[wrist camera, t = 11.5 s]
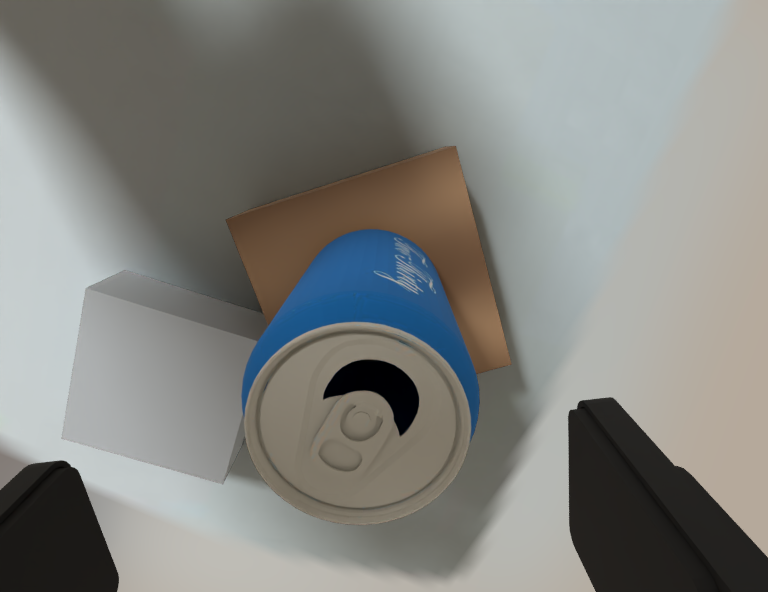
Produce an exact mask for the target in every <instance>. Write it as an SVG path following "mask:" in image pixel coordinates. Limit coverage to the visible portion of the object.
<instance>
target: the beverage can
mask: <svg viewBox="0 0 768 592" xmlns="http://www.w3.org/2000/svg"><path fill="white" fill-rule="evenodd" d="M241 398H242V411H243V416H244V430H245V438H246V443H247V448H248V450H249V453H250V456H251V459H252V461H253V463H254V465H255V467H256V469H257V471H258V472H259V474H260V475H261V476H262V478H263V479H264V481H265V482H266V483H267V484H268V485H269V486H270V488H271V489H272V490H273V491H274V492H275V493H276V494H278V495H279V496H280V497H281V498H282V499H283V500H285V501H286V502H288V503H289V504H291V505H292V506H294V507H295V508H297V509H299V510H301V511H303V512H305V513H307V514H309V515H312V516H314V517H317V518H319V519H323V520H327V521H331V522H335V523H341V524H350V525H368V524H378V523H383V522H389V521H392V520H396V519H399V518H402V517H405V516H407V515H409V514H412V513H414V512H416V511H418V510H419V509H421V508H423V507H425V506H426V505H428V504H429V503H430V502H432V501H433V500H434V499H436V498H437V497H438V496H439V495H440V494H441V493H442V492H443V491H444V490H445V489H446V488H447V487H448V486H449V485H450V483H451V482H452V481H453V480H454V478H455V477H456V475H457V474H458V472H459V470H460V468H461V467H462V464H463V462H464V460H465V457H466V455H467V451H468V447H469V443H470V441H471V439H472V436H473V434H474V431H475V427H476V423H477V420H478V412H479V403H480V400H479V385H478V380H477V375H476V372H475V369H474V366H473V363H472V360H471V358H470V355H469V352H468V350H467V347H466V345H465V342H464V340H463V337H462V335H461V332H460V329H459V327H458V324H457V322H456V319H455V317H454V314H453V312H452V309H451V306H450V304H449V301H448V299H447V296H446V294H445V291H444V289H443V286H442V283H441V281H440V278H439V276H438V273H437V271H436V269H435V267H434V265H433V263H432V261H431V260H430V259H429V257H428V256H427V255H426V253H425V252H424V251H423V250H422V249H421V248H420V247H419V246H417V245H416V244H415V243H414V242H412V241H410V240H409V239H407V238H406V237H403V236H401V235H399V234H396V233H393V232H390V231H385V230H379V229H366V230H358V231H354V232H350V233H347V234H345V235H342V236H340V237H338V238H336V239H335V240H333V241H332V242H330V243H329V244H328V245H326V246H325V247H324V248H323V249H322V250H321V251H320V252H319V253H318V255H317V256H316V257H315V258H314V260H313V261H312V263H311V264H310V266H309V267H308V269H307V270H306V272H305V273H304V274H303V276H302V277H301V279H300V280H299V282H298V283H297V285H296V286H295V288H294V289H293V291H292V292H291V294H290V295H289V296H288V298H287V299H286V301H285V302H284V304H283V305H282V307H281V308H280V310H279V311H278V313H277V314H276V316H275V317H274V318H273V320H272V321H271V323H270V324H269V326H268V327H267V329H266V330H265V332H264V333H263V335H262V336H261V337H260V339H259V341H258V342H257V344H256V346H255V347H254V349H253V351H252V353H251V355H250V357H249V360H248V362H247V365H246V369H245V373H244V377H243V383H242V394H241Z"/></svg>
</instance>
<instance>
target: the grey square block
mask: <svg viewBox="0 0 768 592" xmlns="http://www.w3.org/2000/svg"><path fill="white" fill-rule="evenodd" d="M267 327H268V324H267V321H266V319H265V316H264V314H263V313H260V312H257V311H253V310H250V309H247V308H244V307H241V306H237V305H234V304H231V303H228V302H225V301H222V300H218V299H215V298H212V297H209V296H206V295H203V294H199V293H196V292H193V291H190V290H187V289H184V288H180V287H177V286H174V285H171V284H168V283H164V282H161V281H158V280H155V279H152V278H149V277H145V276H142V275H139V274H136V273H133V272H130V271H126V270H124V271H122V272H120V273H117V274H115V275H113V276H111V277H109V278H107V279H104V280H102V281H100V282H98V283H96V284H94V285H91V286H89V287H87V288H86V290H85V296H84V302H83V308H82V314H81V321H80V327H79V333H78V339H77V345H76V352H75V358H74V364H73V370H72V376H71V383H70V389H69V395H68V401H67V407H66V414H65V420H64V426H63V432H62V438H61V439H64V440H68V441H71V442H75V443H79V444H82V445H86V446H89V447H93V448H96V449H100V450H103V451H107V452H111V453H114V454H118V455H121V456H125V457H128V458H132V459H135V460H139V461H142V462H146V463H150V464H153V465H157V466H160V467H164V468H167V469H171V470H174V471H178V472H181V473H185V474H189V475H192V476H196V477H199V478H203V479H206V480H210V481H213V482H217V483H220V484H223V483H224V481H225V479H226V477H227V475H228V473H229V471H230V469H231V467H232V465H233V463H234V461H235V459H236V457H237V455H238V453H239V451H240V449H241V447H242V444H243V440H244V437H245V430H244V416H243V411H242V398H241V394H242V383H243V377H244V373H245V369H246V365H247V362H248V360H249V357H250V355H251V353H252V351H253V349H254V347H255V346H256V344H257V342H258V341H259V339H260V337H261V336H262V335H263V333H264V332H265V330H266V329H267Z"/></svg>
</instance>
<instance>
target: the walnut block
mask: <svg viewBox="0 0 768 592" xmlns="http://www.w3.org/2000/svg"><path fill="white" fill-rule="evenodd" d="M226 222H227V224H228V227H229V229H230V232H231V234H232V237H233V239H234V242H235V244H236V247H237V249H238V252H239V254H240V257H241V259H242V262H243V264H244V267H245V269H246V272H247V274H248V277H249V279H250V282H251V284H252V287H253V289H254V291H255V294H256V296H257V299H258V301H259V304H260V306H261V309H262V311H263V314H264V316H265V319H266V321H267V324H268V326H269V324H270V323H271V321H272V320H273V318H274V317H275V316H276V314H277V313H278V311H279V310H280V308H281V307H282V305H283V304H284V302H285V301H286V299H287V298H288V296H289V295H290V294H291V292H292V291H293V289H294V288H295V286H296V285H297V283H298V282H299V280H300V279H301V277H302V276H303V274H304V273H305V272H306V270H307V269H308V267H309V266H310V264H311V263H312V261H313V260H314V258H315V257H316V256H317V255H318V253H319V252H320V251H321V250H322V249H323V248H324V247H325V246H326V245H328V244H329V243H330V242H332V241H333V240H335V239H336V238H338V237H340V236H342V235H345V234H347V233H350V232H354V231H358V230H366V229H379V230H385V231H390V232H393V233H396V234H399V235H401V236H403V237H406V238H407V239H409V240H410V241H412V242H414V243H415V244H416V245H417V246H419V247H420V248H421V249H422V250H423V251H424V252H425V253H426V255H427V256H428V257H429V259H430V260H431V261H432V263H433V265H434V267H435V269H436V271H437V273H438V276H439V278H440V281H441V283H442V286H443V289H444V291H445V294H446V296H447V299H448V301H449V304H450V306H451V309H452V312H453V314H454V317H455V319H456V322H457V324H458V327H459V329H460V332H461V335H462V337H463V340H464V342H465V345H466V347H467V350H468V352H469V355H470V358H471V360H472V363H473V366H474V369H475V372H476V374H478V373H482V372H486V371H489V370H493V369H497V368H500V367H504V366H508V365H511V360H510V356H509V352H508V349H507V345H506V341H505V337H504V333H503V329H502V325H501V321H500V317H499V313H498V309H497V306H496V302H495V298H494V294H493V290H492V286H491V282H490V278H489V274H488V270H487V266H486V262H485V259H484V255H483V251H482V247H481V243H480V239H479V235H478V231H477V227H476V223H475V219H474V216H473V212H472V208H471V204H470V200H469V196H468V192H467V188H466V184H465V180H464V176H463V173H462V169H461V165H460V161H459V157H458V153H457V149H456V146H449V147H443V148H440V149H437V150H434V151H431V152H427V153H424V154H421V155H418V156H415V157H412V158H409V159H406V160H402V161H399V162H396V163H393V164H390V165H387V166H384V167H381V168H377V169H374V170H371V171H368V172H365V173H362V174H359V175H356V176H353V177H349V178H346V179H343V180H340V181H337V182H334V183H331V184H328V185H324V186H321V187H318V188H315V189H312V190H309V191H306V192H303V193H299V194H296V195H293V196H290V197H287V198H284V199H281V200H278V201H275V202H271V203H268V204H265V205H262V206H259V207H256V208H253V209H250V210H247V211H245V212H243V213H240V214H238V215H236V216H233V217H231V218H229V219H226Z"/></svg>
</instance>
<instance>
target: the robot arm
mask: <svg viewBox="0 0 768 592" xmlns="http://www.w3.org/2000/svg"><path fill="white" fill-rule="evenodd" d="M568 422H569V423H568V430H569V526H570V533H571V537H572V541H573V544H574V547H575V549H576V551H577V553H578V555H579V557H580V559H581V561H582V563H583V566H584V568H585V570H586V572H587V574H588V576H589V578H590V580H591V583H592V585H593V587H594V589H595V591H596V592H768V557H767V556H766V555H765V554H764V553H763V552H762V551H761V550H760V549H759V548H758V547H757V545H756V544H755V543H754V542H753V541H752V540H751V539H750V538H749V537H748V536H747V535H746V534H745V533H744V532H743V530H742V529H741V528H740V527H739V526H738V525H737V524H736V523H735V522H734V521H733V520H732V518H731V517H730V516H729V515H728V514H727V513H726V512H725V511H724V510H723V509H722V508H721V507H720V505H719V504H718V503H717V502H716V501H715V500H714V499H713V498H712V497H711V496H710V495H709V494H708V492H707V491H706V490H705V489H704V488H703V487H702V486H701V485H700V484H699V483H698V482H697V481H696V479H695V478H694V477H693V476H692V475H691V474H690V473H688V472H687V471H686V470H685V469H684V468H681V467H678V466H674V465H673V463H672V462H670V460H669V459H668V458H667V457H666V456H665V455H664V453H663V452H662V451H661V450H660V449H659V448H658V447H657V446H656V445H655V443H654V442H653V441H652V440H651V439H650V438H649V437H648V436H647V435H646V433H645V432H644V431H643V430H642V429H641V428H640V427H639V426H638V425H637V423H636V422H635V421H634V420H633V419H632V418H631V417H630V416H629V415H628V414H627V412H626V411H625V410H624V409H623V408H622V407H621V406H620V405H619V403H617V401H616V400H615V399H613V398H600V399H592V400H583V401H580V402H579V403H578V406H577V409H575V410H570V411H569V416H568ZM118 583H119V576H118V572H117V570H116V567H115V564H114V562H113V559H112V557H111V554H110V552H109V549H108V547H107V544H106V541H105V538H104V536H103V533H102V531H101V528H100V525H99V523H98V521H97V518H96V515H95V513H94V510H93V507H92V505H91V502H90V500H89V497H88V494H87V492H86V489H85V487H84V484H83V481H82V479H81V476H80V474H79V472H78V470H77V469H75V468H73V467H71V466H70V464H68V463H67V462H66V461H52V462H44V463H35V464H31V465H28V466H27V467H25V468H24V469H23V470H22V471H20V472H19V473H18V474H17V475H16V476H15V477H14V478H13V479H12V480H11V481H10V482H9V483H8V484H6V485H5V486H4V487H3V488H2V489H1V490H0V592H117V589H118Z"/></svg>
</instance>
